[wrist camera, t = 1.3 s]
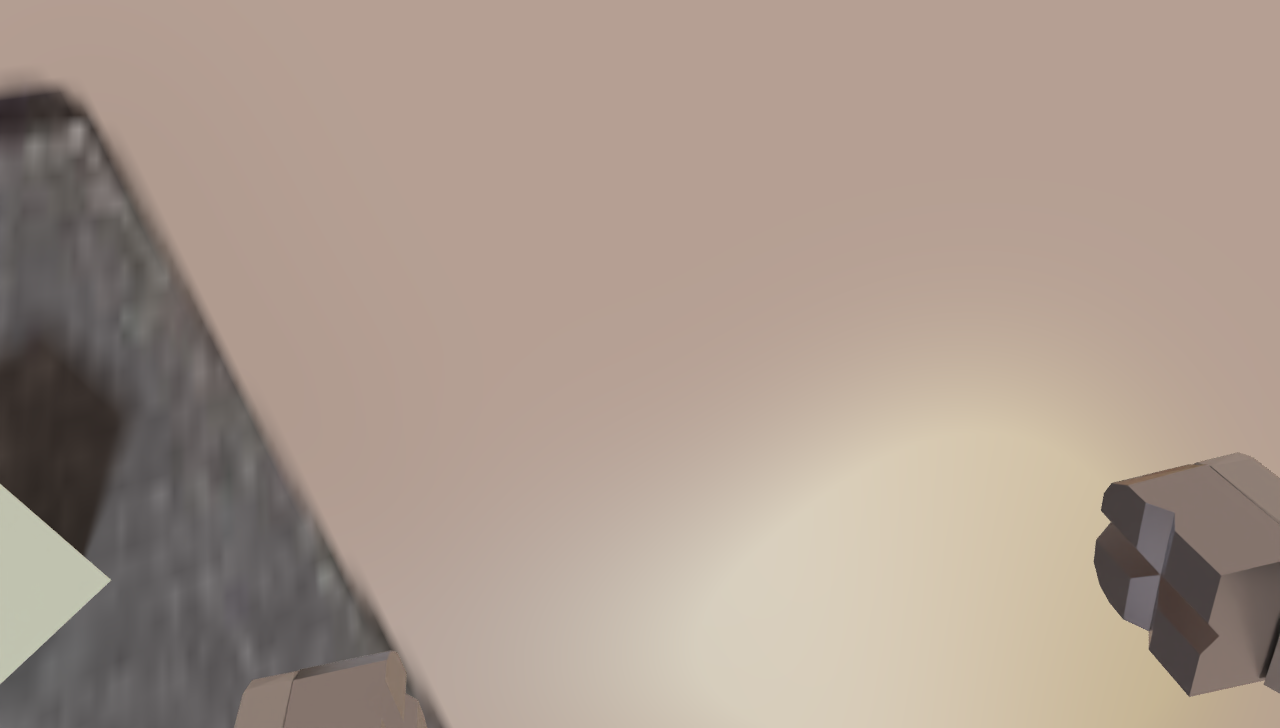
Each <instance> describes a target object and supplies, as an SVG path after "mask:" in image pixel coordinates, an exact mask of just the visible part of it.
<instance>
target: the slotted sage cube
mask: <svg viewBox="0 0 1280 728" xmlns="http://www.w3.org/2000/svg"><path fill="white" fill-rule="evenodd" d="M110 581H111V580H110V579H109V578H108V577H107V576H106V575H105V574H103V573H102V572H101V571H100V570H99V569H98V568H97V567H95V566H94V565H93V564H92V563H91V562H90V561H88V560H87V559H86V558H85V557H84V556H83V555H82V554H80V553H79V552H78V551H77V550H76V549H75V548H74V547H72V546H71V545H70V544H69V543H68V542H67V541H65V540H64V539H63V538H62V537H61V536H60V535H59V534H57V533H56V532H55V531H54V530H53V529H52V528H50V527H49V526H48V525H47V524H46V523H45V522H44V521H42V520H41V519H40V518H39V517H38V516H37V515H35V514H34V513H33V512H32V511H31V510H30V509H29V508H27V507H26V506H25V505H24V504H23V503H22V502H20V501H19V500H18V499H17V498H16V497H15V496H14V495H12V494H11V493H10V492H9V491H8V490H7V489H6V488H4V487H3V486H2V485H1V484H0V684H1V683H2V682H3V681H4V680H5V679H6V678H7V677H8V676H9V675H10V674H11V673H12V672H14V671H15V670H16V669H17V668H18V667H19V666H20V665H21V664H22V663H23V662H24V661H25V660H26V659H27V658H28V657H30V656H31V655H32V654H33V653H34V652H35V651H36V650H37V649H38V648H39V647H40V646H41V645H42V644H43V643H45V642H46V641H47V640H48V639H49V638H50V637H51V636H52V635H53V634H54V633H55V632H56V631H57V630H58V629H59V628H61V627H62V626H63V625H64V624H65V623H66V622H67V621H68V620H69V619H70V618H71V617H72V616H73V615H74V614H75V613H77V612H78V611H79V610H80V609H81V608H82V607H83V606H84V605H85V604H86V603H87V602H88V601H89V600H90V599H92V598H93V597H94V596H95V595H96V594H97V593H98V592H99V591H100V590H101V589H102V588H103V587H104V586H105V585H106V584H108V583H109V582H110Z"/></svg>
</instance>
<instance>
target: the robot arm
mask: <svg viewBox="0 0 1280 728" xmlns="http://www.w3.org/2000/svg"><path fill="white" fill-rule="evenodd" d="M1101 511H1102V512H1103V513H1104V514H1105V516H1106V517H1107V518H1108V519H1109V520H1110V521H1111V523H1110V524H1109V525H1108V527H1107V528H1106V529H1105V530H1104V531H1103V532H1102V534H1101V535H1100V536H1099V537H1098V538H1097V540H1096V546H1095V556H1094V565H1095V568H1096V572H1097V576H1098V580H1099V584H1100V586H1101V588H1102V590H1103V592H1104V594H1105V595H1106V597H1107V599H1108V601H1109V603H1110V604H1111V605H1112V606H1113V607H1114V609H1115V610H1116V611H1117V612H1118V614H1119V615H1120V616H1121V617H1122V618H1123V619H1124V620H1126V621H1128V622H1131V623H1132V624H1135V625H1137V626H1139V627H1141V628H1143V629H1145V630H1147V631H1149V650H1150V652H1151V653H1152V654H1153V655H1154V656H1155V657H1156V659H1157V660H1158V661H1159V662H1160V663H1161V664H1162V666H1163V667H1164V668H1165V669H1166V670H1167V671H1168V672H1169V674H1170V675H1171V676H1172V677H1173V678H1174V679H1175V681H1176V682H1177V683H1178V684H1179V685H1180V686H1181V688H1182V689H1183V690H1184V691H1185V692H1186V694H1187V695H1188V696H1189V697H1191V696H1195V695H1200V694H1204V693H1209V692H1213V691H1218V690H1222V689H1227V688H1231V687H1236V686H1240V685H1245V684H1250V683H1254V682H1258V681H1263V680H1265V682H1264V685H1266V686H1267V687H1269V688H1271V689H1273V690H1275V691H1276V692H1278V693H1280V478H1279V477H1278V476H1276V475H1275V474H1274V473H1272V472H1271V471H1270V470H1269V469H1267V468H1266V467H1265V466H1263V465H1262V464H1261V463H1260V462H1258V461H1257V460H1256V459H1254V458H1252V457H1250V456H1247V455H1245V454H1241V453H1234V454H1230V455H1226V456H1221V457H1217V458H1213V459H1209V460H1205V461H1201V462H1197V463H1195V464H1192V465H1191V464H1190V465H1184V466H1180V467H1176V468H1172V469H1168V470H1164V471H1159V472H1155V473H1152V474H1147V475H1143V476H1139V477H1135V478H1131V479H1127V480H1122V481H1119V482H1114V483H1111V485H1110V486H1109V487H1108V489H1107V490H1106V491H1105V493H1104V497H1103V502H1102V508H1101ZM406 674H407V672H406V670H405V668H404V666H403V664H402V662H401V659H400V657H399V655H398V653H397V652H394V651H387V652H382V653H377V654H372V655H367V656H363V657H358V658H353V659H348V660H343V661H338V662H333V663H329V664H324V665H319V666H314V667H309V668H304V669H300V670H299V671H295V672H290V673H285V674H280V675H275V676H270V677H265V678H260V679H255V680H252V681H251V683H250V684H249V686H248V687H247V689H246V690H245V692H244V693H243V695H242V699H241V703H240V707H239V711H238V715H237V719H236V723H235V726H234V728H427V726H426V722H425V718H424V714H423V712H422V709H421V707H420V704H419V702H418V700H417V699H415V698H413V697H411V696H409V695H407V694H406V693H405V692H406Z"/></svg>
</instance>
